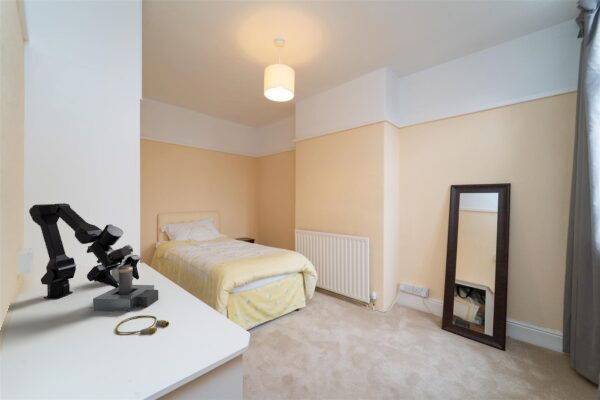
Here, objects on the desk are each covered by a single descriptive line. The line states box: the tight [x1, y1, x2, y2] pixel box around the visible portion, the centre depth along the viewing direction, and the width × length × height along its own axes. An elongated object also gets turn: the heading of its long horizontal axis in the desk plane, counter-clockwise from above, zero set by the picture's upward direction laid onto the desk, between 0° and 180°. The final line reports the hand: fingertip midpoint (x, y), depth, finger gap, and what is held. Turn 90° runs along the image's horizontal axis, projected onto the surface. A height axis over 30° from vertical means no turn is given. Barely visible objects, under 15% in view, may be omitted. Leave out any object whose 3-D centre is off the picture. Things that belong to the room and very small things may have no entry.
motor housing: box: [92, 284, 159, 313], centre depth 97 cm, size 18×14×4 cm
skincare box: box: [110, 246, 135, 283], centre depth 123 cm, size 8×7×16 cm
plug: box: [118, 266, 133, 295], centre depth 97 cm, size 5×5×14 cm
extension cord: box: [115, 314, 170, 336], centre depth 80 cm, size 12×16×2 cm
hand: (128, 282), depth 97 cm, fingers open, 9 cm apart
